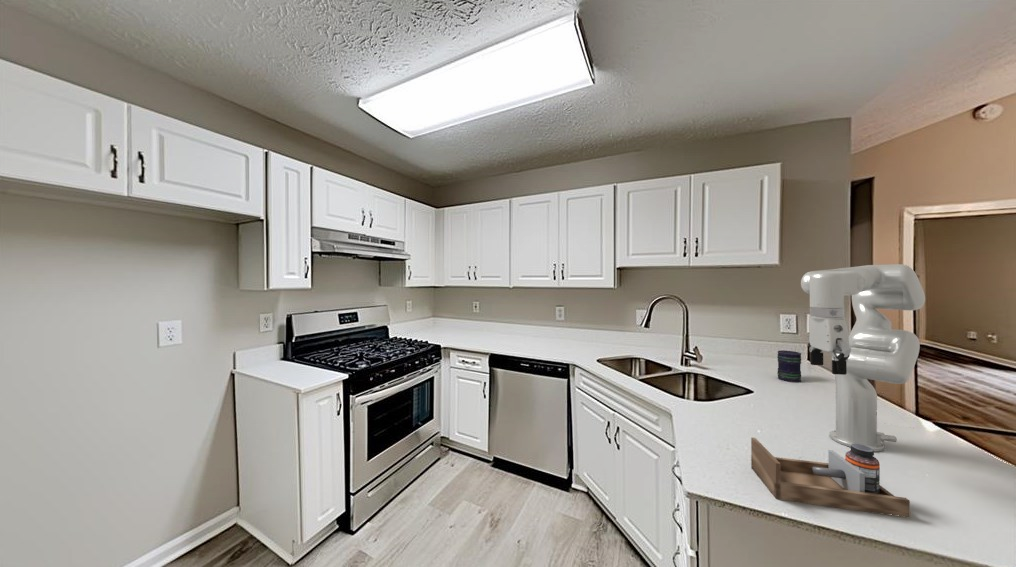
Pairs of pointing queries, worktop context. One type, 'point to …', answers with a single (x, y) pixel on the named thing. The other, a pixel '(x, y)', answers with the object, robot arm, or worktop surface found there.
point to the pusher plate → (842, 473)
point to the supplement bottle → (865, 466)
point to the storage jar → (789, 366)
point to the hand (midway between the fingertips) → (827, 369)
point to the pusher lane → (817, 485)
